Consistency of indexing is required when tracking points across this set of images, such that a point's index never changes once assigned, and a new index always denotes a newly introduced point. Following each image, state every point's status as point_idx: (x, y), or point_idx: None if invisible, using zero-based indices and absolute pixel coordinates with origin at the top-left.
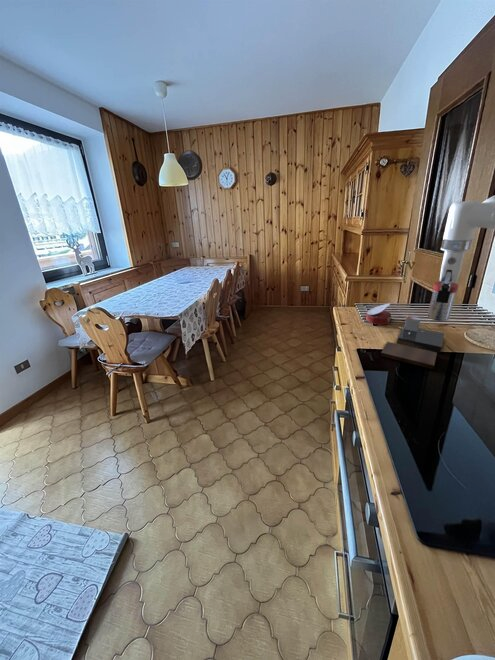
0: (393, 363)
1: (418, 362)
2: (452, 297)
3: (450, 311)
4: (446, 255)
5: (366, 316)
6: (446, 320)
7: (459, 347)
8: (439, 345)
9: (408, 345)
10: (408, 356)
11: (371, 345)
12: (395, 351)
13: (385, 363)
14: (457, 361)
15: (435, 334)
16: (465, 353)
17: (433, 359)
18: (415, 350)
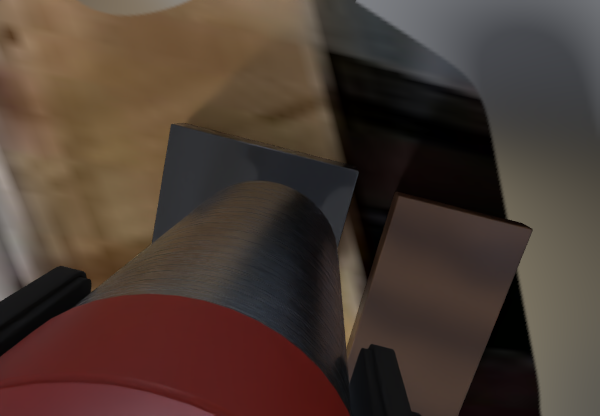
0: (499, 372)
1: (506, 288)
2: (316, 317)
3: (294, 213)
4: None
5: None
6: (319, 209)
7: (265, 57)
8: (342, 180)
9: None
10: (466, 326)
11: None
12: (429, 374)
13: (505, 401)
14: (423, 100)
15: (208, 177)
16: (327, 41)
17: (474, 223)
18: (398, 289)
